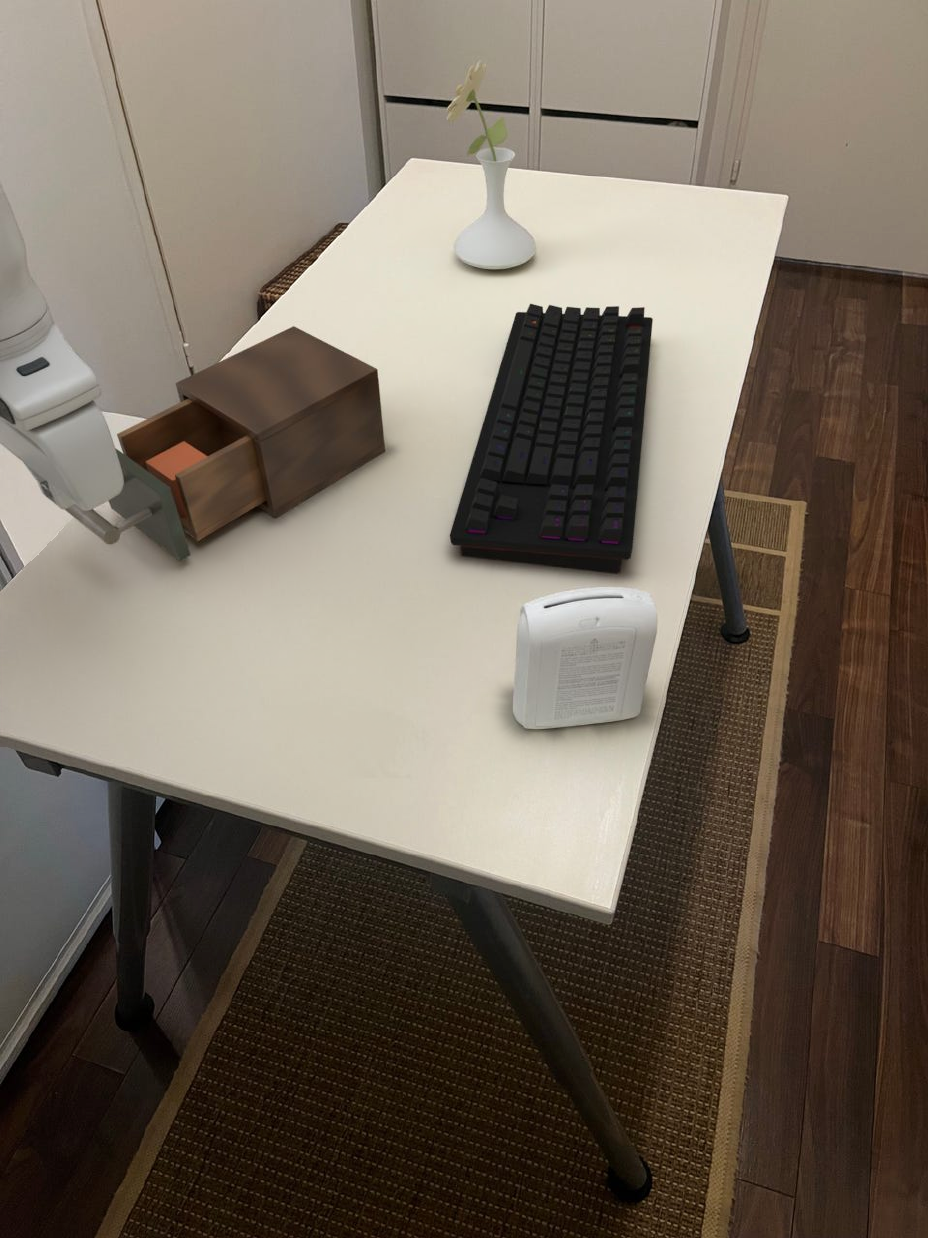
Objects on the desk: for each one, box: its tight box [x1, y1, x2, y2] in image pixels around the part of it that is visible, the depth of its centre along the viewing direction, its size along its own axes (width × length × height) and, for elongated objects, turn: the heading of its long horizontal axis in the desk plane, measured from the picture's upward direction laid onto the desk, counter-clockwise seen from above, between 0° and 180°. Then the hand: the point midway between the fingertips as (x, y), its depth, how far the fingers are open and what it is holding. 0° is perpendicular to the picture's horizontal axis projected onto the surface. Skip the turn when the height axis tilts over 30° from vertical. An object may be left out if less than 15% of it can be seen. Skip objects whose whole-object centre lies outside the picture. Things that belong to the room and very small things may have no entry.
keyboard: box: [449, 303, 654, 574], centre depth 97 cm, size 42×16×5 cm, turn 169°
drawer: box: [63, 398, 267, 562], centre depth 87 cm, size 19×12×8 cm, turn 137°
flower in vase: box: [446, 59, 537, 270], centre depth 119 cm, size 13×11×25 cm
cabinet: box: [175, 325, 386, 519], centre depth 93 cm, size 15×13×10 cm
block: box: [145, 441, 208, 518], centre depth 88 cm, size 4×4×4 cm
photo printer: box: [512, 586, 658, 730], centre depth 69 cm, size 10×4×12 cm, turn 98°
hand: (62, 499), depth 79 cm, fingers closed
